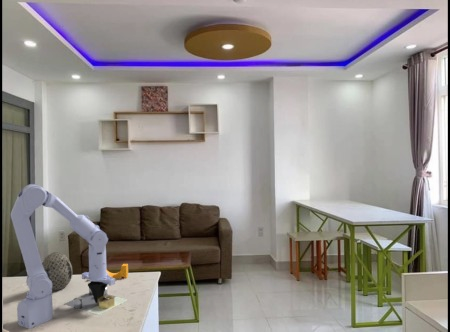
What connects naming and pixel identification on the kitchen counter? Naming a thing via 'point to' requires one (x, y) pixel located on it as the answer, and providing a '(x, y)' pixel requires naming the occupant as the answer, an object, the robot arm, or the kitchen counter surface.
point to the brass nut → (106, 302)
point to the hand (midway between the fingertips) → (98, 301)
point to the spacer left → (77, 303)
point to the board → (95, 304)
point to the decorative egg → (58, 270)
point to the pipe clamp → (122, 272)
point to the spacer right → (105, 292)
